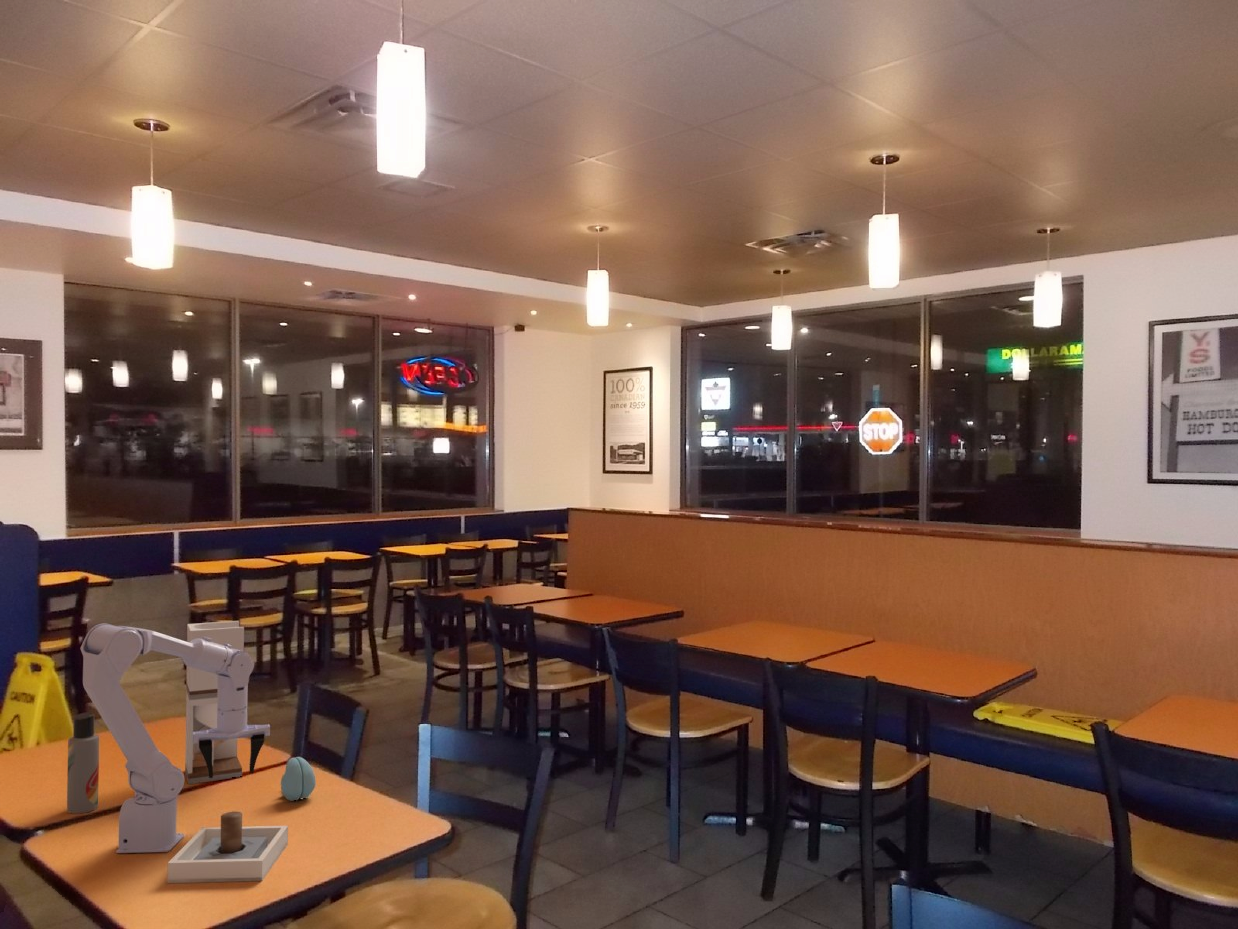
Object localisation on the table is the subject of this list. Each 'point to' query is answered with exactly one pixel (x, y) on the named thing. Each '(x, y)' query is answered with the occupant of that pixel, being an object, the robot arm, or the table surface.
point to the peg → (231, 832)
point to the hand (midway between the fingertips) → (231, 774)
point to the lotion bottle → (83, 766)
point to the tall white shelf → (209, 708)
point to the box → (228, 856)
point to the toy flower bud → (297, 779)
